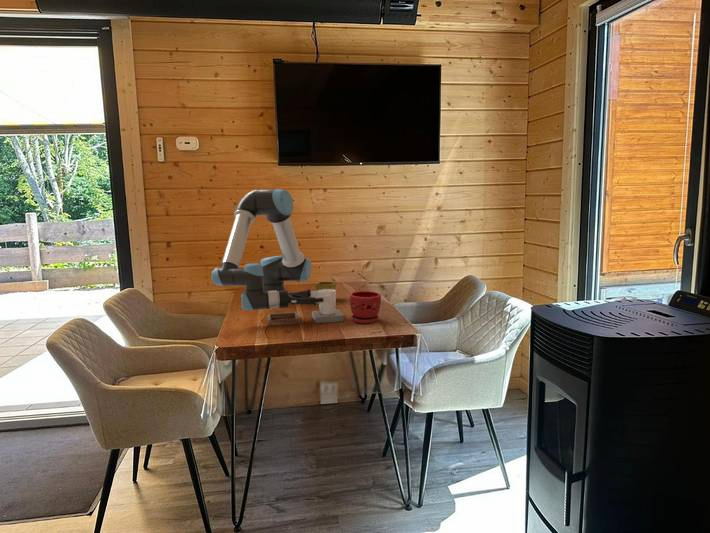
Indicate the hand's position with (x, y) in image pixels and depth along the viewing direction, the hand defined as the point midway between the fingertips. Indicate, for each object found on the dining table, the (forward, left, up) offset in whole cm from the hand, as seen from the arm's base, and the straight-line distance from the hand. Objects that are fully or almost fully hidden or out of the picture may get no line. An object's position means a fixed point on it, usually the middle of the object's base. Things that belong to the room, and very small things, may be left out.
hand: (327, 296), depth 209 cm
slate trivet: (0, 0, -10) cm, 10 cm away
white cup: (0, 0, -8) cm, 8 cm away
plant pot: (+9, +15, -10) cm, 20 cm away
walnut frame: (-2, -19, -10) cm, 22 cm away
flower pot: (-42, +6, -10) cm, 43 cm away
